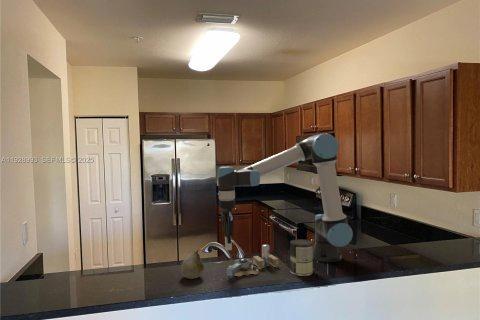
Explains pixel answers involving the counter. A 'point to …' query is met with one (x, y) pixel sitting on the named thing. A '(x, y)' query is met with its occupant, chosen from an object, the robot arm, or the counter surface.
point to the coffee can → (301, 257)
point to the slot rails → (260, 262)
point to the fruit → (192, 266)
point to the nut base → (247, 271)
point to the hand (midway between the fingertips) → (228, 249)
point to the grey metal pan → (239, 266)
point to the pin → (265, 254)
